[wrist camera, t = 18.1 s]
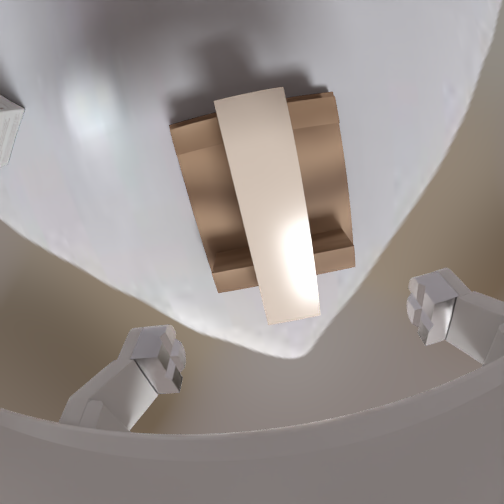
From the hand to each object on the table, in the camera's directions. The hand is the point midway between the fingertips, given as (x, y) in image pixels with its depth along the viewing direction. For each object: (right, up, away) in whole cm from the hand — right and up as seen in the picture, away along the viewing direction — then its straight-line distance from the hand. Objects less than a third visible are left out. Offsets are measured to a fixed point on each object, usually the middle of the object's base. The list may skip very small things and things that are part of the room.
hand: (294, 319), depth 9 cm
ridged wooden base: (0, +8, +17) cm, 19 cm away
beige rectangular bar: (0, +6, +13) cm, 14 cm away
